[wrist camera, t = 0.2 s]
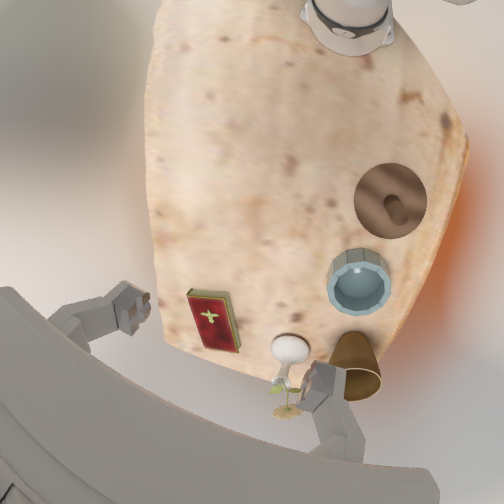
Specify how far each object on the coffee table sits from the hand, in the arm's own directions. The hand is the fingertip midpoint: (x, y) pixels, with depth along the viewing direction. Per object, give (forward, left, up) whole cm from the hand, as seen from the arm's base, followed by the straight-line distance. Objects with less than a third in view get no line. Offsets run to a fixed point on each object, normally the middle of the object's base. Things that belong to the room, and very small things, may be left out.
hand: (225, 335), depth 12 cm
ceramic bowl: (+21, +18, -47) cm, 55 cm away
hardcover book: (+50, -13, -48) cm, 71 cm away
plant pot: (+41, +26, -48) cm, 68 cm away
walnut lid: (+2, +18, -48) cm, 51 cm away
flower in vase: (+50, +11, -48) cm, 70 cm away
